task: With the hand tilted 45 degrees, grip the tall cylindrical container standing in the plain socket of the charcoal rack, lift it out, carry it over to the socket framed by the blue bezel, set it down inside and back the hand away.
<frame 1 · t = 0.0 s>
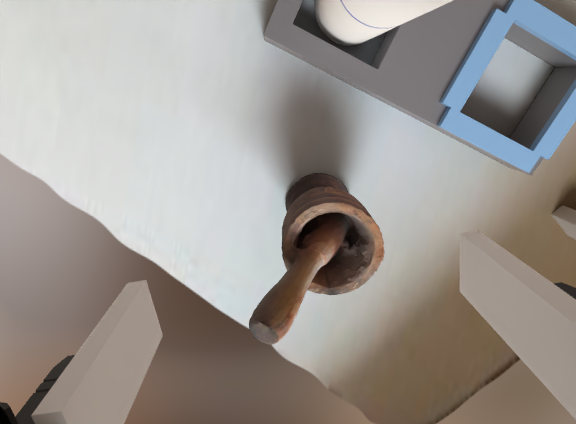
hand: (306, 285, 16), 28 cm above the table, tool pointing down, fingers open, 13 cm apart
cylindrical container: (350, 7, 38), resting in socket rack
socket rack: (426, 49, 39), on the table
lighter: (570, 228, 47), on the table
mortar and pestle: (307, 213, 45), on the table
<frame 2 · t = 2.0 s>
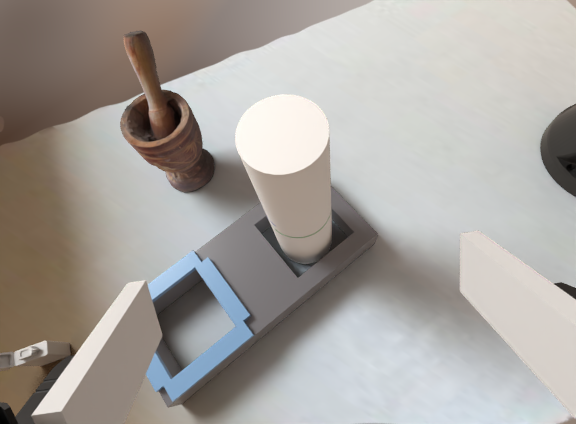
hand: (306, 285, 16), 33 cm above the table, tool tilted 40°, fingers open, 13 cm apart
cylindrical container: (305, 238, 51), resting in socket rack
socket rack: (252, 280, 50), on the table
lighter: (45, 358, 49), on the table
mortar and pestle: (189, 162, 58), on the table
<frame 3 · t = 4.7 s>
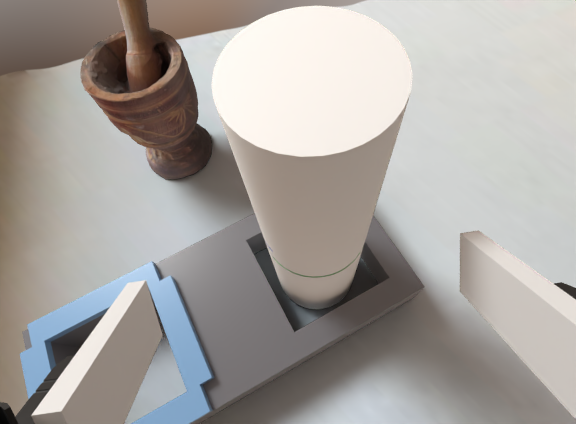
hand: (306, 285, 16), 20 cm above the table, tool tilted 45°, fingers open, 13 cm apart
cylindrical container: (315, 271, 36), resting in socket rack
socket rack: (230, 318, 35), on the table
mortar and pestle: (180, 141, 44), on the table
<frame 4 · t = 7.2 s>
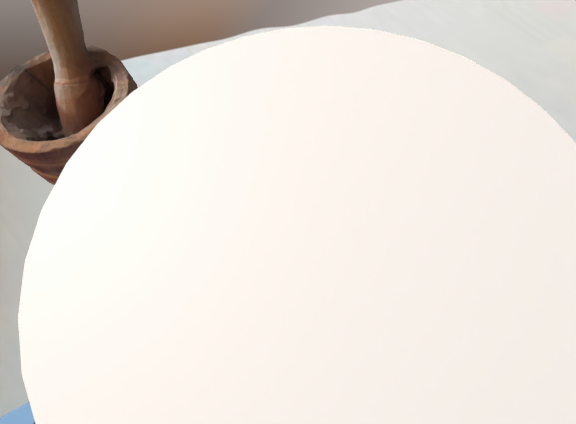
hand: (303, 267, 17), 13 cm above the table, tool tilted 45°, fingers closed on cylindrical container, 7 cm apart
cylindrical container: (317, 367, 27), resting in socket rack, touching gripper
mortar and pestle: (146, 183, 35), on the table
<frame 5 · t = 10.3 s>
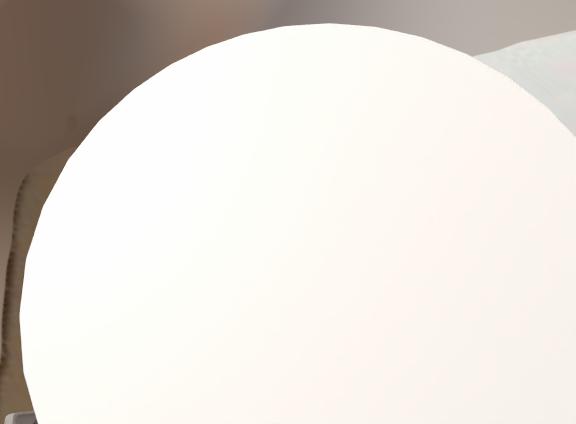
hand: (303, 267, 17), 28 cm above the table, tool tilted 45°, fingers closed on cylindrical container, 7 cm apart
cylindrical container: (317, 366, 27), point 15 cm above the table, touching gripper
lighter: (88, 414, 42), on the table
when the fingers open (14 cm above the table, at t = 13.6 s): cylindrical container drops 1 cm, resting in socket rack.
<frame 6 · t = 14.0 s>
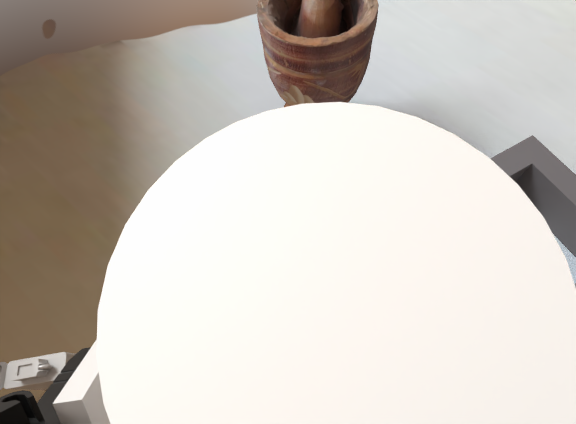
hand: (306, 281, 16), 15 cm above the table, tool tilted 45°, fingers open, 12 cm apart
cylindrical container: (322, 369, 28), resting in socket rack
socket rack: (415, 308, 30), on the table
lighter: (55, 376, 30), on the table
mortar and pestle: (313, 112, 39), on the table
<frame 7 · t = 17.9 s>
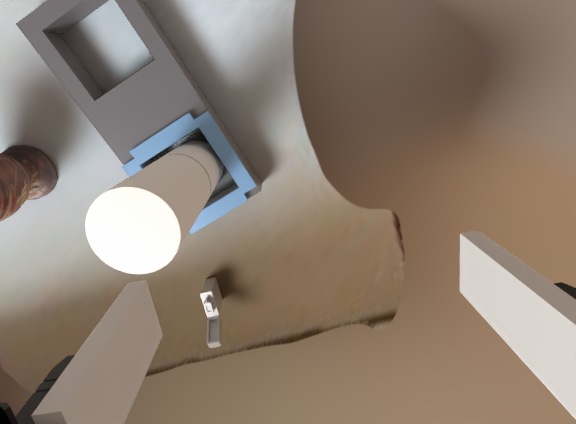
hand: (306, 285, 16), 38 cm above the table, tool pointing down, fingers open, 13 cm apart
cylindrical container: (198, 165, 53), resting in socket rack
socket rack: (157, 111, 50), on the table
lighter: (216, 297, 59), on the table
mortar and pestle: (18, 174, 52), on the table
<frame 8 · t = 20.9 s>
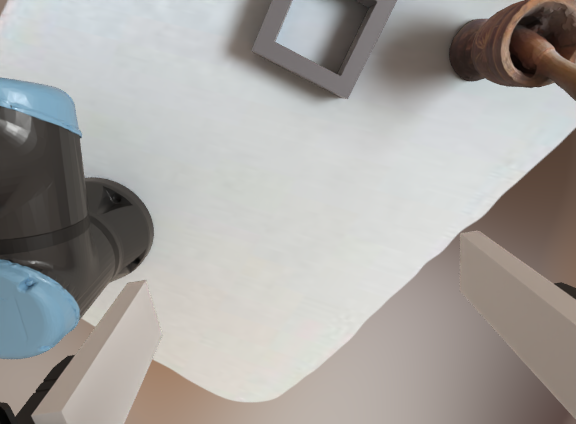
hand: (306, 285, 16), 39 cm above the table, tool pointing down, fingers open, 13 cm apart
mortar and pestle: (483, 60, 50), on the table
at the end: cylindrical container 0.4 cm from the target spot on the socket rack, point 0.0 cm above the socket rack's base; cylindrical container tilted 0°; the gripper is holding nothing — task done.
